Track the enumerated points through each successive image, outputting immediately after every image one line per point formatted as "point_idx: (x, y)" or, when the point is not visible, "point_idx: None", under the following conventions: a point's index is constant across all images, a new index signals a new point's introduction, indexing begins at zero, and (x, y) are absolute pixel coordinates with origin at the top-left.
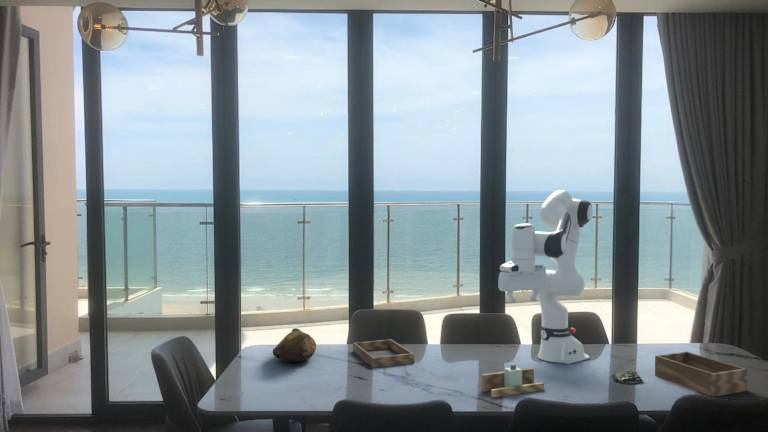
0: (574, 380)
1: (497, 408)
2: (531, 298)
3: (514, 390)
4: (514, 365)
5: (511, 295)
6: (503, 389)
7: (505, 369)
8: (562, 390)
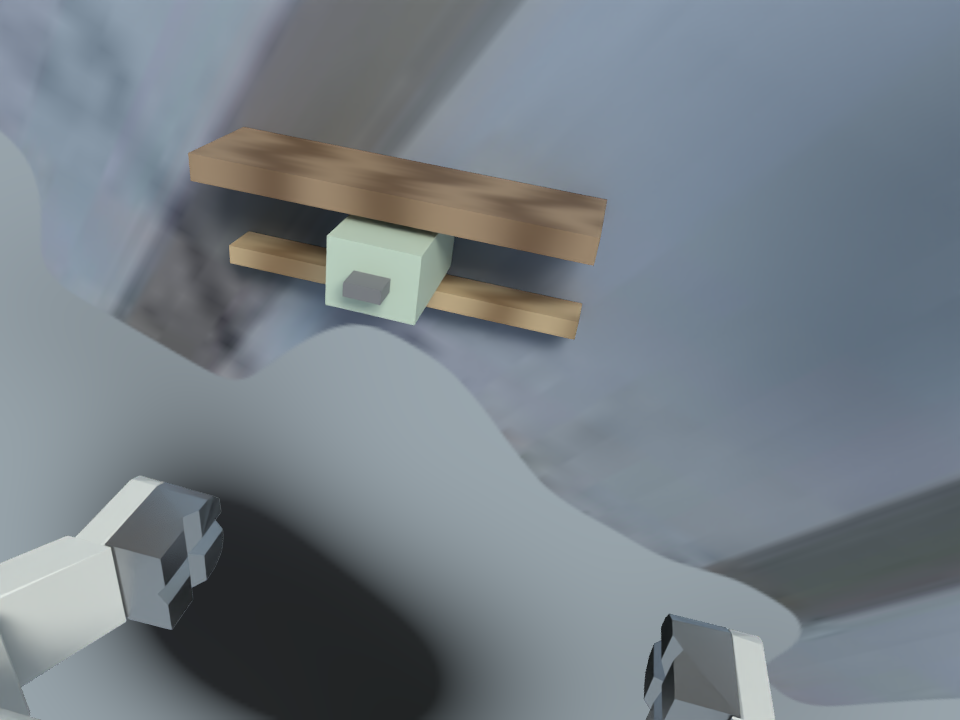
0: (904, 315)
1: (201, 356)
2: (670, 673)
3: None
4: (367, 300)
5: (25, 662)
6: (296, 276)
7: (329, 245)
8: (658, 380)
